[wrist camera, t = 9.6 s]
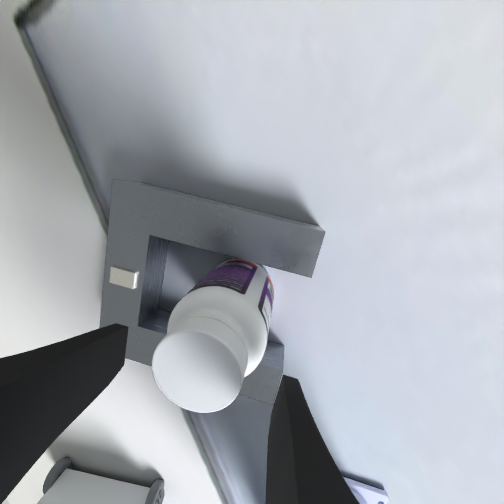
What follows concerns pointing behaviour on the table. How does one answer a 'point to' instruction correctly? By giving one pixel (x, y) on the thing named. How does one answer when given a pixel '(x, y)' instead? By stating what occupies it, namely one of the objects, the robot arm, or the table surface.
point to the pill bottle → (215, 337)
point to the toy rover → (95, 488)
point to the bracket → (201, 236)
